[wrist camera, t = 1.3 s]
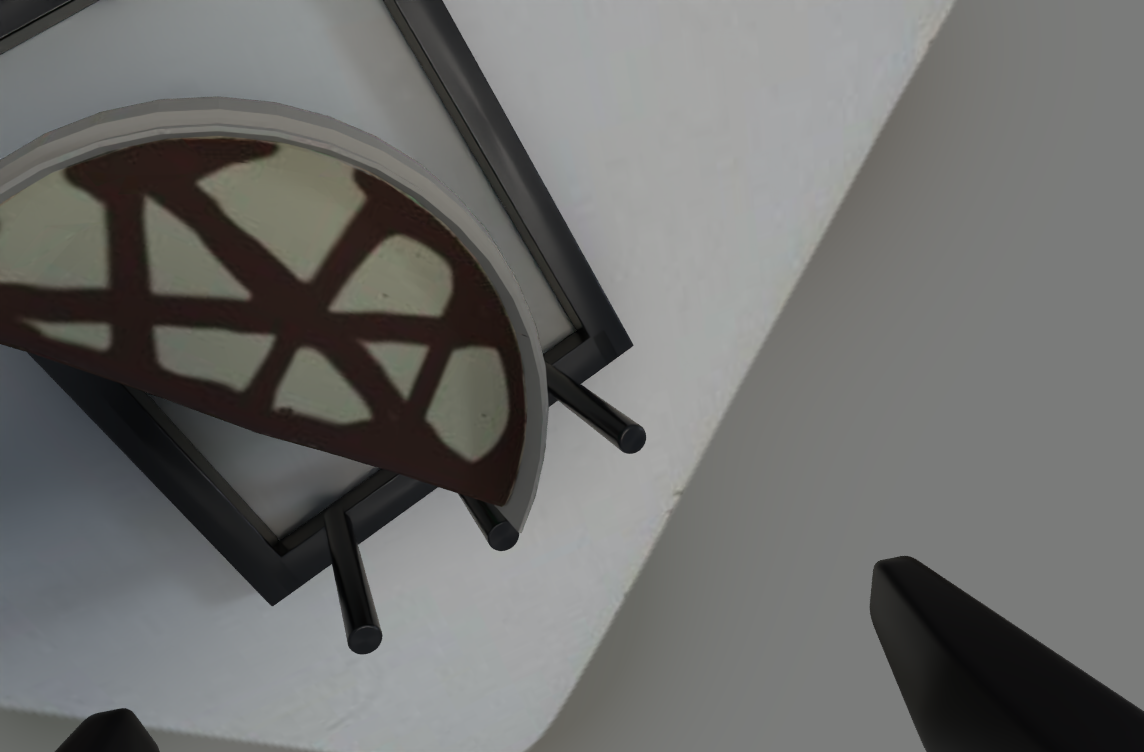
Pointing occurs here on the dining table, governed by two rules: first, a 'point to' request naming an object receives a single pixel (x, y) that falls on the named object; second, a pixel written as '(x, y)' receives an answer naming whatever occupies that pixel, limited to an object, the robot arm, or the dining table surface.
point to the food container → (278, 288)
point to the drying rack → (278, 567)
